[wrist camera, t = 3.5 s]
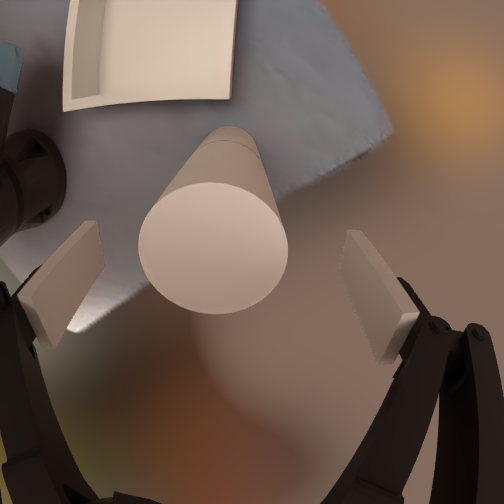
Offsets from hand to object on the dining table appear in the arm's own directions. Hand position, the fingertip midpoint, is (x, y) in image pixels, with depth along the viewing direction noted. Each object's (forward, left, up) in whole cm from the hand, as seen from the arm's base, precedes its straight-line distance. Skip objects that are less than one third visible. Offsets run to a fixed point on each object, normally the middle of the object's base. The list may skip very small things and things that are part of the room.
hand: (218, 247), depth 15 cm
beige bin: (-9, +16, -24) cm, 30 cm away
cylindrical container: (0, 0, -24) cm, 24 cm away
